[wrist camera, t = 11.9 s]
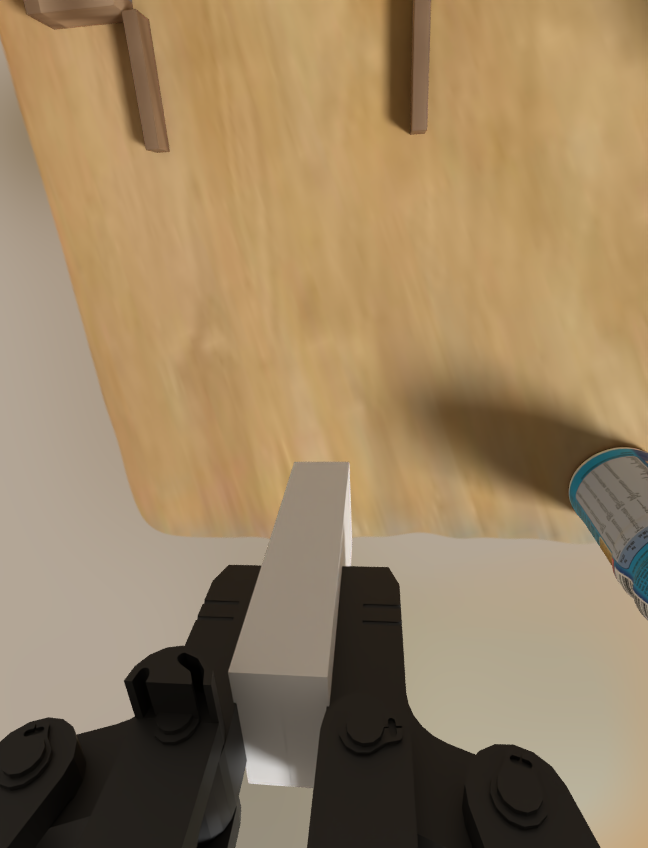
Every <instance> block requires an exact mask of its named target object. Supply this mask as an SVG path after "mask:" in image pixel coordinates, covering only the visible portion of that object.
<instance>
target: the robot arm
mask: <svg viewBox="0 0 648 848" xmlns="http://www.w3.org/2000/svg"><path fill="white" fill-rule="evenodd" d="M351 553H352V525H351V496H350V467H349V462H294V465H293V468H292V471H291V474H290V477H289V481H288V484H287V487H286V490H285V493H284V496H283V500H282V503H281V506H280V509H279V512H278V515H277V519H276V522H275V525H274V528H273V531H272V534H271V538H270V541H269V544H268V547H267V550H266V553H265V557H264V560H263V563H262V566H255V565H254V566H253V565H228V566H227V567H226V568H225V569H224V570H223V571H222V572H221V573H220V574H219V575H218V576H217V577H216V578H215V579H214V580H213V582H212V584H211V586H210V589H209V591H208V593H207V596H206V598H205V603H204V604H203V605H202V607H201V610H200V612H199V614H198V619H197V620H196V622H195V623H194V626H193V628H192V630H191V633H190V635H189V637H188V640H187V642H186V644H185V646H176V647H168V648H165V649H162V650H160V651H158V652H155V653H153V654H150V655H149V656H148V657H146V658H145V659H144V660H142V661H141V662H140V663H138V664H137V665H136V666H135V667H134V668H133V670H132V671H131V672H130V673H129V675H128V676H127V678H126V679H125V680H124V682H125V686H126V689H127V692H128V695H129V698H130V702H131V705H132V708H133V711H134V714H135V717H133V718H132V719H130V720H127V721H124V722H121V723H119V724H116V725H112V726H108V727H104V728H100V729H97V730H93V731H89V732H85V733H81V734H77V735H76V733H75V730H74V728H73V726H71V725H70V724H69V723H67V722H66V721H65V720H64V719H56V718H45V719H41V720H37V721H32V722H29V723H27V724H26V725H24V726H22V727H20V728H18V729H16V730H15V731H13V732H11V733H10V734H9V735H7V736H6V737H5V738H4V739H3V740H2V741H1V742H0V848H235V846H236V842H237V837H238V832H239V828H240V820H241V804H240V800H239V792H240V788H241V784H242V780H243V775H244V771H245V767H246V771H247V776H248V782H249V783H253V784H265V785H278V786H292V787H306V788H314V790H313V799H312V808H311V817H310V826H309V836H308V845H307V848H600V846H599V844H598V843H597V841H596V839H595V837H594V835H593V833H592V832H591V830H590V828H589V826H588V824H587V822H586V821H585V819H584V817H583V815H582V813H581V812H580V810H579V808H578V806H577V805H576V802H575V801H574V799H573V797H572V795H571V794H570V792H569V790H568V788H567V786H566V785H565V784H564V782H563V781H562V780H561V778H560V777H559V776H558V774H557V773H556V772H555V770H554V769H553V768H552V766H550V765H549V764H548V763H546V762H545V761H544V760H543V759H541V758H540V757H538V756H537V755H536V754H535V753H533V752H531V751H528V750H526V749H523V748H521V747H518V746H515V745H503V744H502V745H501V744H494V745H492V746H490V747H487V748H485V749H483V750H480V751H479V752H478V753H477V754H476V755H475V754H472V753H470V752H467V751H465V750H462V749H460V748H457V747H455V746H452V745H450V744H447V743H446V742H444V741H442V740H440V739H438V738H436V737H434V736H433V735H432V734H430V733H429V732H428V731H427V730H426V729H425V728H423V727H422V725H421V724H420V723H419V722H418V720H417V719H416V718H415V717H414V715H413V713H412V711H411V708H410V706H409V704H408V700H407V695H406V686H405V685H406V684H405V668H404V652H403V636H402V620H401V607H400V606H401V604H400V589H399V588H400V587H399V583H398V582H397V580H396V579H395V577H394V575H393V574H392V572H391V571H390V569H389V568H388V567H355V566H351Z"/></svg>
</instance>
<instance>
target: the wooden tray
mask: <svg viewBox="0 0 648 848" xmlns="http://www.w3.org/2000/svg"><path fill="white" fill-rule="evenodd" d="M23 1H24V5H25V9H26V13H27V15H29V16H31V17H32V18H34V19H36V20H38V21H40V22H42V23H44V24H45V25H47V26H49V27H51V28H53V29H63V28H73V27H83V26H92V25H102V24H112V23H122V22H124V28H125V34H126V39H127V45H128V51H129V57H130V62H131V68H132V74H133V79H134V85H135V91H136V96H137V102H138V108H139V114H140V119H141V125H142V131H143V136H144V142H145V148H146V150H148V151H153V152H157V153H158V152H170V150H169V144H168V137H167V131H166V125H165V118H164V112H163V106H162V99H161V93H160V87H159V80H158V74H157V68H156V61H155V55H154V49H153V42H152V36H151V30H150V24H149V19H147V18H146V17H145V16H144V15H142V14H141V13H140V12H139V11H138V10H136V9H133V5H132V0H23ZM430 20H431V0H413V16H412V70H411V125H410V135H411V134H425V132H426V131H427V119H428V86H429V53H430Z"/></svg>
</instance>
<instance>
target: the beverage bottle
mask: <svg viewBox="0 0 648 848" xmlns="http://www.w3.org/2000/svg"><path fill="white" fill-rule="evenodd" d="M569 499H570V503H571V505H572V507H573V509H574V510H575V512H576V513H577V515H578V516H579V517H580V518H581V519H582V521H583V522H584V523H585V525H586V526H587V528H588V529H589V531H590V532H591V534H592V535H593V537H594V538H595V540H596V541H597V543H598V545H599V546H600V548H601V549H602V551H603V552H604V554H605V555H606V557H607V559H608V560H609V562H610V563H611V565H612V568H613V572H614V574H615V576H616V579H617V580H618V582H619V583H620V585H621V586H622V587H623V589H624V590H625V591H626V592H627V593H628V594H629V595H630V596H631V597H632V598H633V599H634V601H635V604H636V606H637V608H638V609H639V611H640V612H641V614H642V615H643V616H644V617H645V618H646V619H647V620H648V453H647V452H645V451H642V450H639V449H636V448H628V447H619V448H612V449H608V450H604V451H602V452H599V453H597V454H595V455H593V456H591V457H590V458H588V459H587V460H586V461H585V462H583V463H582V464H581V465H580V466H579V467H578V469H577V470H576V471H575V473H574V475H573V476H572V479H571V481H570V485H569Z"/></svg>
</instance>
